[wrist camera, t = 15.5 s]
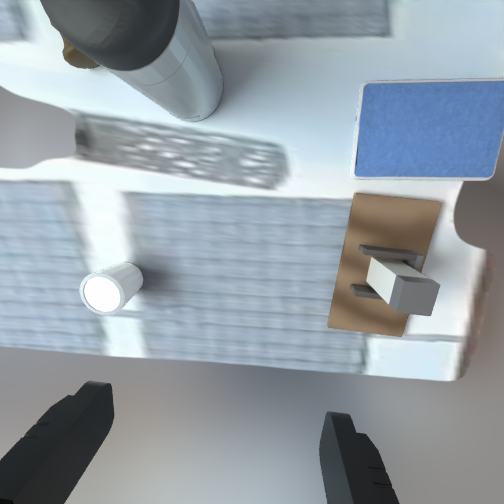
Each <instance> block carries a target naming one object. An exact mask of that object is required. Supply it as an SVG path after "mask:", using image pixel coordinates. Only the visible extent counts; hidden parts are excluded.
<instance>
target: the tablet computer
mask: <svg viewBox="0 0 504 504" xmlns="http://www.w3.org/2000/svg"><path fill="white" fill-rule="evenodd" d="M503 136H504V79H442V80H393V81H387V80H386V81H367V82H364V83H362V84H361V86H360V88H359V96H358V105H357V115H356V125H355V134H354V143H353V153H352V161H351V170H350V175H351V177H352V178H353V179H356V180H461V181H474V180H475V181H485V180H488V179H490V178H492V177H493V175H494V173H495V169H496V164H497V161H498V156H499V152H500V148H501V144H502V140H503Z"/></svg>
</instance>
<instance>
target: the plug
mask: <svg viewBox="0 0 504 504" xmlns="http://www.w3.org/2000/svg"><path fill="white" fill-rule="evenodd" d="M366 282H367V283H368V284H369V285H370V286H371V287H372V288H373V289H374V290H375V291H376V292H377V293H378V294H379V295H380V296H381V297H382V298H383V299H384V300H385V301H386V302H387V303H388V304H389V305H390V306H391V308H392V309H393V310H394V311H395V312H397V313H406V314H415V315H424V316H431V314H432V310H433V307H434V304H435V301H436V297H437V294H438V291H439V288H440V284H438V283H436V282H435V281H433V280H431V279H430V278H428V277H426V276H425V275H423V274H421V273H420V272H418V271H416V270H415V269H413V268H411V267H410V266H408V265H407V264H405V263H403V262H402V261H400V260H398V259H388V258H379V257H371V261H370V266H369V270H368V275H367V279H366Z"/></svg>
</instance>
